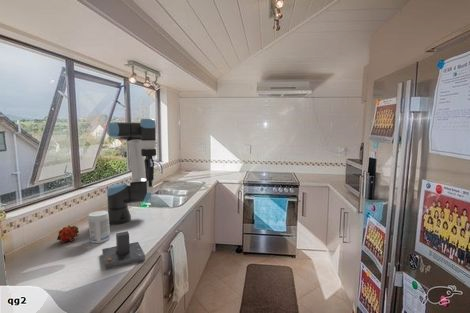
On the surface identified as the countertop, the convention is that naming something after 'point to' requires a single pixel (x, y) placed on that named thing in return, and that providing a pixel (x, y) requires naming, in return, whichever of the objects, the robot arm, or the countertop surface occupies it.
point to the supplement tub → (99, 226)
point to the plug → (122, 243)
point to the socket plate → (122, 256)
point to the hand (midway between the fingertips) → (149, 192)
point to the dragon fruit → (67, 233)
